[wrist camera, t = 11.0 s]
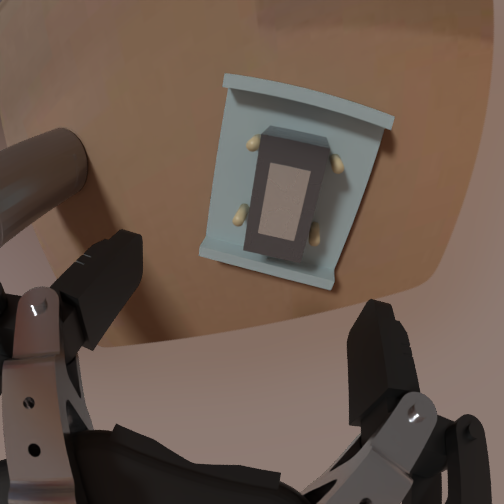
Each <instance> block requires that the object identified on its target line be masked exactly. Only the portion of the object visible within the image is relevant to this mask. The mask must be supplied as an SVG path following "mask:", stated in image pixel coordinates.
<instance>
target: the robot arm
mask: <svg viewBox="0 0 504 504" xmlns="http://www.w3.org/2000/svg"><path fill="white" fill-rule="evenodd" d="M87 167H88V166H87V158H86V154H85V151H84V148H83V146H82V144H81V142H80V141H79V139H78V138H77V137H76V136H75V134H74V133H72V132H71V131H69V130H67V129H64V128H57V129H54V130H51V131H48V132H45V133H43V134H40V135H37V136H34V137H32V138H29V139H27V140H24V141H22V142H19V143H17V144H15V145H12V146H10V147H8V148H6V149H3V150H1V151H0V248H1V247H2V246H3V245H4V244H5V243H6V242H8V241H9V240H10V239H12V238H13V237H14V236H16V235H17V234H18V233H19V232H20V231H22V230H23V229H25V228H26V227H27V226H29V225H30V224H32V223H33V222H34V221H36V220H37V219H38V218H40V217H41V216H43V215H44V214H46V213H47V212H48V211H50V210H51V209H53V208H54V207H56V206H57V205H59V204H60V203H62V202H63V201H65V200H66V199H68V198H69V197H71V196H73V195H74V194H76V193H77V192H78V191H80V190H81V188H82V187H83V185H84V183H85V181H86V177H87ZM142 273H143V241H142V236H141V235H140V234H136V233H133V232H130V231H126V230H123V229H121V230H119V231H118V232H117V233H116V234H115V235H113V236H112V237H111V238H110V239H109V240H107V239H104V240H102V241H100V242H98V243H96V244H94V245H92V246H91V247H90V248H89V249H88V250H87V251H86V252H85V253H84V255H82V256H80V257H79V258H78V259H77V261H76V262H74V263H73V264H72V265H71V266H70V267H69V268H68V269H67V270H66V271H65V272H64V273H63V274H62V275H61V276H60V277H59V278H58V279H57V280H56V281H55V282H54V283H53V284H52V285H51V287H36V288H33V289H30V290H29V291H27V292H26V293H24V294H23V295H22V296H18V295H11V294H5V292H4V289H3V287H2V284H1V283H0V395H1V394H2V415H3V431H4V442H5V450H6V459H4V460H1V461H0V504H400V503H401V502H402V504H442V480H441V479H442V477H441V472H443V471H445V470H448V498H447V501H446V503H445V504H492V497H491V480H490V468H489V459H488V451H487V444H486V438H485V432H484V428H483V426H482V424H481V422H480V421H479V420H478V419H477V418H476V417H475V416H473V415H469V414H466V415H463V416H461V417H460V418H459V419H457V420H456V421H455V422H454V421H451V420H449V419H446V418H444V417H442V416H439V415H437V411H436V408H435V406H434V404H433V402H432V401H431V400H430V399H429V398H428V397H427V396H426V395H424V394H422V393H420V388H419V383H418V378H417V373H416V369H415V364H414V360H413V357H412V351H411V348H410V347H409V346H410V343H409V339H408V335H407V332H406V331H405V329H404V327H403V326H402V324H401V323H400V321H396V320H395V317H394V313H393V309H392V306H391V304H389V303H385V302H381V301H377V300H373V299H370V300H369V301H368V302H367V303H366V305H365V306H364V308H363V310H362V312H361V313H360V315H359V317H358V318H357V320H356V322H355V323H354V325H353V327H352V328H351V330H350V332H349V335H348V339H347V359H348V383H349V425H352V426H360V427H361V434H359V435H358V436H357V437H356V438H355V440H354V441H353V442H352V443H351V444H350V445H349V446H348V448H347V449H346V450H345V451H344V452H343V453H342V454H341V455H340V457H339V458H338V459H337V460H336V461H335V462H334V463H333V464H332V465H331V466H330V467H329V468H328V469H327V470H326V471H325V472H324V473H323V474H322V475H321V476H320V477H319V478H317V479H316V480H315V481H313V482H312V483H311V484H310V485H308V486H307V487H306V488H305V489H304V490H303V491H302V492H301V493H300V492H298V491H297V490H295V489H294V488H292V487H291V486H289V485H287V484H285V483H283V482H281V481H280V475H281V473H279V472H273V471H267V470H261V469H256V468H250V467H246V466H241V465H209V464H195V463H192V462H190V461H188V460H186V459H184V458H183V457H181V456H179V455H178V454H176V453H174V452H173V451H171V450H169V449H168V448H166V447H165V446H163V445H162V444H160V443H159V442H157V441H155V440H154V439H151V438H149V437H146V436H144V435H141V434H139V433H136V432H134V431H132V430H129V429H127V428H125V427H122V426H120V425H118V424H116V425H115V427H114V429H113V431H106V430H94V429H93V425H92V421H91V419H90V415H89V413H88V410H87V407H86V404H85V398H84V393H83V387H82V380H81V373H80V365H79V357H78V353H77V352H78V351H79V349H80V348H81V346H83V347H85V348H88V349H90V350H92V351H93V350H94V348H95V347H96V345H97V344H98V342H99V341H100V339H101V338H102V337H103V335H104V334H105V332H106V331H107V329H108V328H109V326H110V325H111V323H112V322H113V321H114V319H115V318H116V316H117V315H118V313H119V312H120V311H121V309H122V308H123V306H124V305H125V304H126V302H127V301H128V299H129V298H130V297H131V295H132V294H133V292H134V291H135V290H136V288H137V287H138V285H139V283H140V281H141V278H142Z"/></svg>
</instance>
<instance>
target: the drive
mask: <svg viewBox="0 0 504 504" xmlns="http://www.w3.org/2000/svg"><path fill="white" fill-rule="evenodd" d="M329 152H330V147H329V143H328V140H327V137H323V136H319V135H314V134H310V133H306V132H301V131H296V130H292V129H287V128H282V127H276V126H271V125H270V126H269V127H268V128H267V129H266V130H265V131H264V132H263V133H262V134H261V139H260V145H259V151H258V158H257V164H256V170H255V176H254V183H253V189H252V195H251V202H250V208H249V215H248V221H247V228H246V234H245V241H244V247H243V251H248V252H252V253H257V254H261V255H266V256H270V257H275V258H279V259H283V260H288V261H292V262H297V263H301V259H302V256H303V252H304V249H305V245H306V242H307V238H308V234H309V231H310V227H311V223H312V219H313V216H314V212H315V208H316V204H317V200H318V197H319V193H320V189H321V185H322V181H323V177H324V173H325V168H326V164H327V160H328V156H329Z"/></svg>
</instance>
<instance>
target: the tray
mask: <svg viewBox="0 0 504 504" xmlns="http://www.w3.org/2000/svg"><path fill="white" fill-rule="evenodd" d="M222 87H227V88H228V93H227V99H226V104H225V110H224V116H223V122H222V128H221V134H220V140H219V146H218V152H217V159H216V166H215V172H214V179H213V186H212V193H211V201H210V208H209V216H208V224H207V232H206V237H205V239H204V240H203V242H202V243H201V245H200V249H199V256H202V257H205V258H209V259H213V260H216V261H220V262H224V263H227V264H231V265H235V266H239V267H242V268H246V269H250V270H254V271H258V272H261V273H265V274H269V275H273V276H277V277H280V278H284V279H288V280H292V281H296V282H300V283H304V284H308V285H312V286H315V287H319V288H323V289H327V290H331V289H332V286H333V284H334V282H335V278H334V269H335V266H336V264H337V261H338V259H339V257H340V254H341V252H342V249H343V247H344V244H345V242H346V239H347V236H348V234H349V231H350V229H351V226H352V223H353V221H354V218H355V216H356V213H357V210H358V207H359V205H360V202H361V199H362V196H363V193H364V191H365V188H366V185H367V182H368V179H369V176H370V173H371V170H372V167H373V164H374V161H375V158H376V155H377V152H378V149H379V145H380V142H381V139H382V136H383V132H384V129H385V128H387V129H389V130H391V128H392V125H393V121H394V118H395V117H394V116H391V115H389V114H386V113H384V112H381V111H378V110H375V109H373V108H370V107H367V106H364V105H361V104H358V103H355V102H352V101H349V100H345V99H342V98H339V97H335V96H332V95H328V94H325V93H321V92H317V91H314V90H310V89H306V88H302V87H298V86H293V85H289V84H284V83H280V82H275V81H270V80H265V79H259V78H254V77H248V76H242V75H235V74H227V73H225V75H224V81H223V86H222ZM270 125H271V126H276V127H282V128H287V129H292V130H296V131H301V132H306V133H310V134H314V135H319V136H323V137H327V140H328V143H329V147H330V152H329V156H328V160H327V164H326V168H325V173H324V177H323V181H322V185H321V189H320V193H319V197H318V200H317V204H316V208H315V212H314V216H313V219H312V223H311V227H310V231H309V234H308V238H307V242H306V245H305V249H304V252H303V256H302V259H301V263H297V262H292V261H288V260H283V259H279V258H275V257H270V256H266V255H261V254H257V253H252V252H248V251H243V247H244V241H245V234H246V228H247V221H248V215H249V208H250V202H251V195H252V189H253V183H254V176H255V170H256V164H257V158H258V151H259V145H260V139H261V134H262V133H263V132H264V131H265V130H266V129H267V128H268V127H269V126H270Z"/></svg>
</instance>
